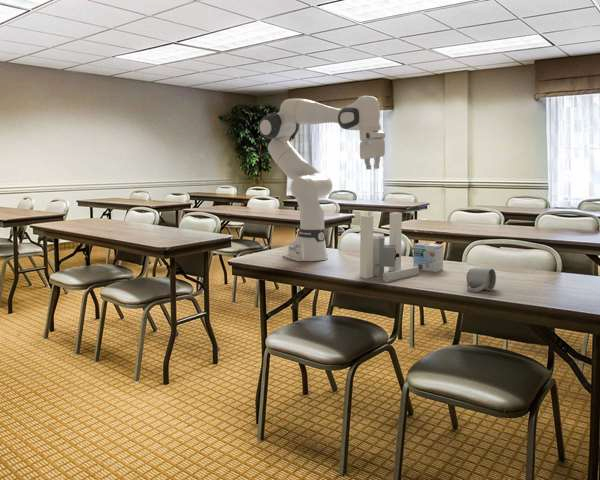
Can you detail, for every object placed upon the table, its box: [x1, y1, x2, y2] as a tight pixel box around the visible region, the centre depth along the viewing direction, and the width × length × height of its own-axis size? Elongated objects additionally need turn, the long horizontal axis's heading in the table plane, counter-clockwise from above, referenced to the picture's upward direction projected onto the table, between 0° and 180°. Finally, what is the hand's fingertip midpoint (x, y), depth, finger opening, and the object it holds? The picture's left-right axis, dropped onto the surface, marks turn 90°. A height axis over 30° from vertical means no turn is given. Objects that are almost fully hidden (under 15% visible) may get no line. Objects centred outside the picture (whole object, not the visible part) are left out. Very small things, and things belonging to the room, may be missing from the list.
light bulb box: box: [412, 241, 445, 273], centre depth 222 cm, size 11×7×11 cm, turn 47°
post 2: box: [388, 211, 403, 272], centre depth 218 cm, size 4×4×24 cm
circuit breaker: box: [373, 235, 399, 277], centre depth 213 cm, size 8×14×15 cm, turn 78°
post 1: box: [359, 215, 374, 279], centre depth 206 cm, size 4×4×24 cm
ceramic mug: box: [466, 267, 497, 293], centre depth 186 cm, size 11×8×8 cm
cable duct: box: [382, 266, 420, 283], centre depth 207 cm, size 2×20×3 cm, turn 132°
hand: (372, 169), depth 222 cm, fingers open, 8 cm apart
